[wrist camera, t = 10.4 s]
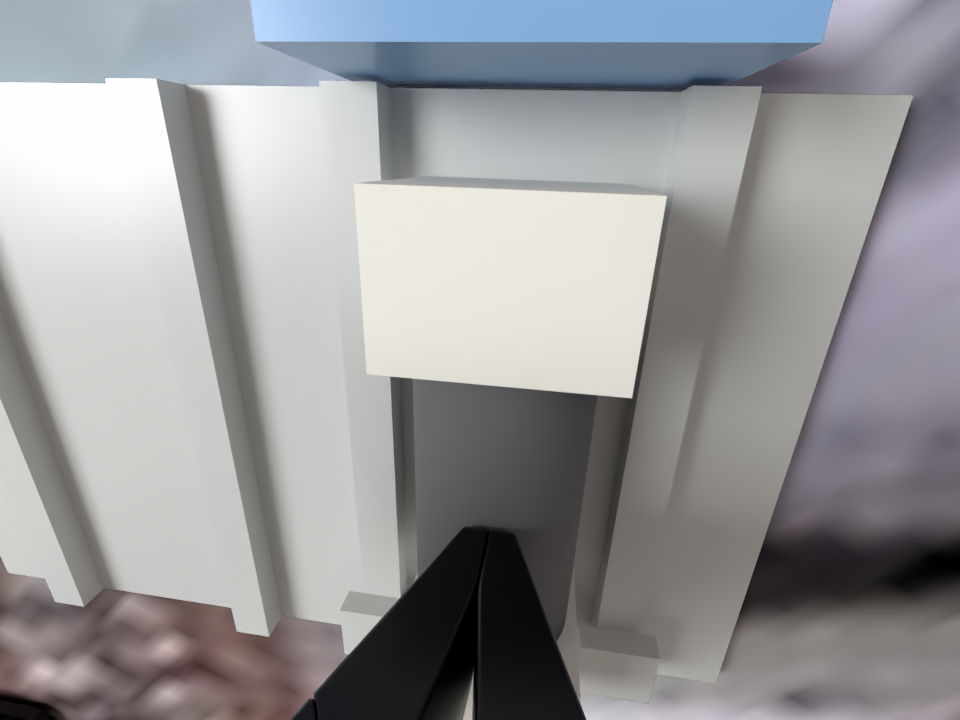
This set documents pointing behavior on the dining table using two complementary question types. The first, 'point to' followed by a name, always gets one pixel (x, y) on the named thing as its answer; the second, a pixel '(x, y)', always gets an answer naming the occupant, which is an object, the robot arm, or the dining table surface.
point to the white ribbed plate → (339, 319)
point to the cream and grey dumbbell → (507, 350)
